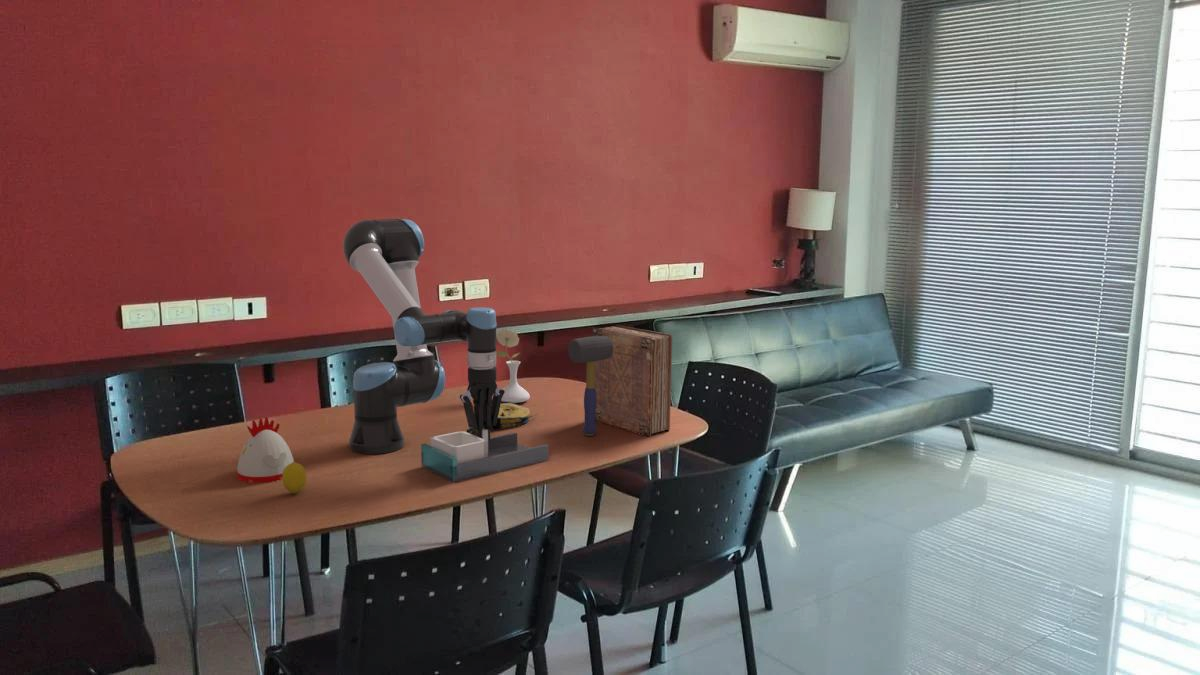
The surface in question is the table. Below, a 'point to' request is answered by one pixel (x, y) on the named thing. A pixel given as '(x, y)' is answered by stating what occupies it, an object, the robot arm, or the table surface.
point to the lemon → (294, 477)
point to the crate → (461, 446)
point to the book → (634, 380)
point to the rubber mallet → (590, 371)
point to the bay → (483, 459)
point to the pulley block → (509, 417)
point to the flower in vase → (511, 369)
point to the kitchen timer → (263, 454)
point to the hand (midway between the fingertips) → (483, 452)
